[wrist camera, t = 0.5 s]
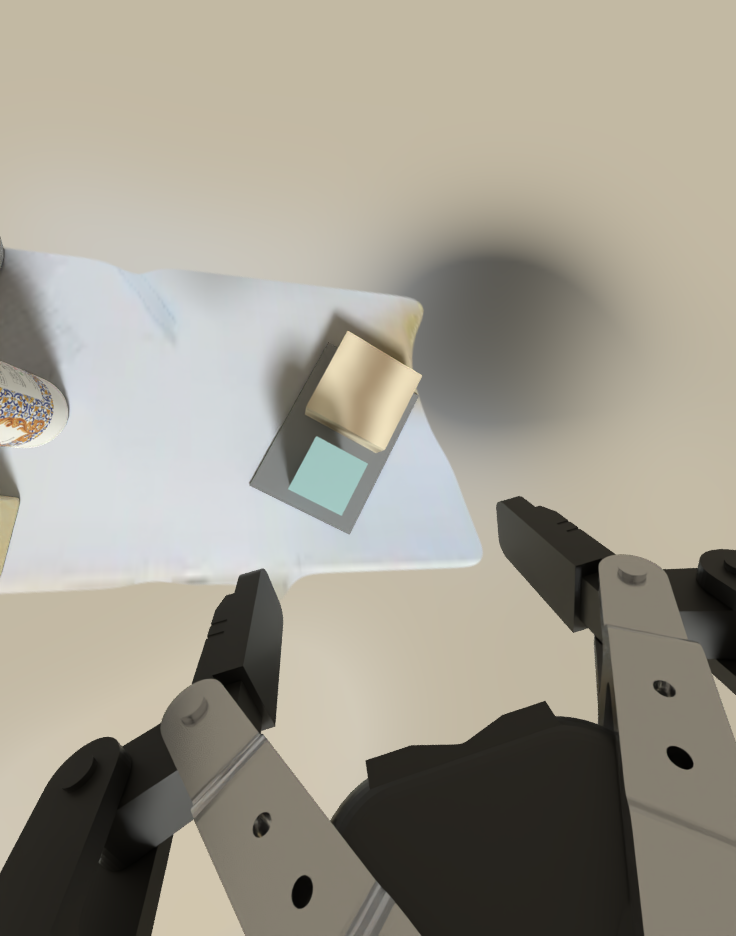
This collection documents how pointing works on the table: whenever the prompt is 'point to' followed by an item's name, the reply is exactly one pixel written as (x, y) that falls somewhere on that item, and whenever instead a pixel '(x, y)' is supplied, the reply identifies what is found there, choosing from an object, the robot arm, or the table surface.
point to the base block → (363, 393)
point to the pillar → (328, 476)
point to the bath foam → (29, 409)
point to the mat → (296, 445)
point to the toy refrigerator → (6, 524)
